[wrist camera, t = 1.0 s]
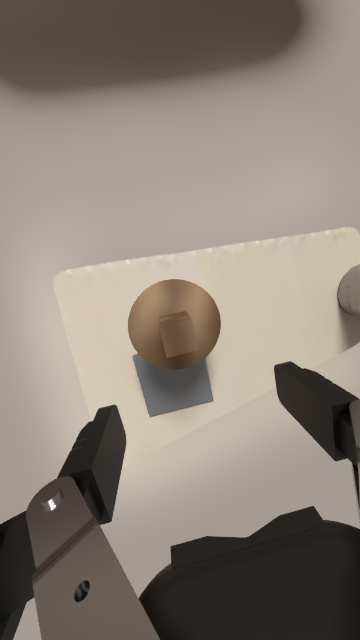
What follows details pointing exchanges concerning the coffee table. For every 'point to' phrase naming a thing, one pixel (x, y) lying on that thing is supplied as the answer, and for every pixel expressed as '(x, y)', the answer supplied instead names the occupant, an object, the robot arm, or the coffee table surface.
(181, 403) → the mat
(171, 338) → the lid
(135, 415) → the coffee table surface
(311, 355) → the coffee table surface
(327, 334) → the coffee table surface
